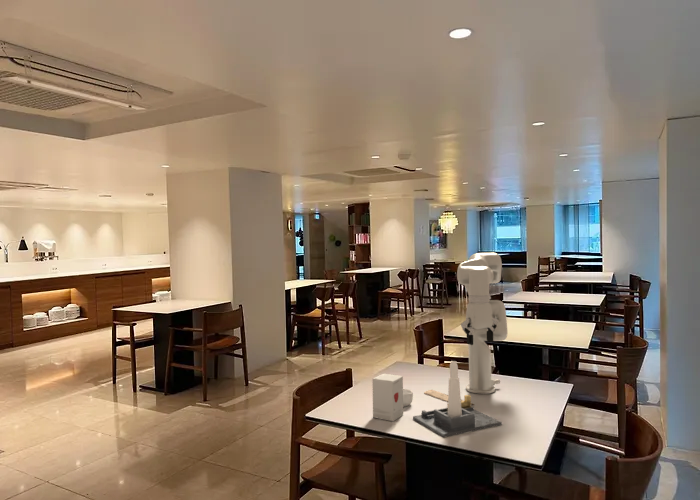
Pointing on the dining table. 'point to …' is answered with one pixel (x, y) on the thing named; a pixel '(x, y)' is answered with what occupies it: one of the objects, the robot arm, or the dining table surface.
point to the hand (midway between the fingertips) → (480, 342)
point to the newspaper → (438, 395)
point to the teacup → (407, 397)
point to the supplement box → (387, 397)
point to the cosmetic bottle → (454, 392)
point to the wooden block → (466, 402)
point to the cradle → (455, 421)
